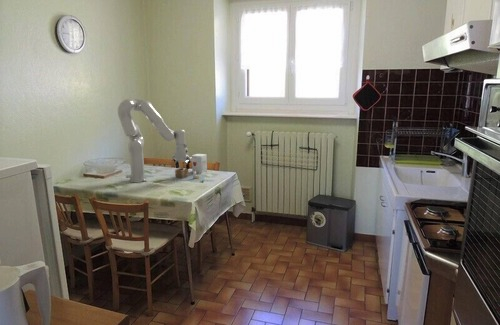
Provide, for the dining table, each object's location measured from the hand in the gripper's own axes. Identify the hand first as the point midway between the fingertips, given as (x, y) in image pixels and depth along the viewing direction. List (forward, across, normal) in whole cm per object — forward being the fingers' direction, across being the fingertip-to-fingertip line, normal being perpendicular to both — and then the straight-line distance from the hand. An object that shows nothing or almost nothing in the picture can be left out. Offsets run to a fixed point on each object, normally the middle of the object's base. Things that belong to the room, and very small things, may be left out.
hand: (182, 168), depth 265 cm
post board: (+8, -6, 0) cm, 10 cm away
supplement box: (+8, -2, -19) cm, 21 cm away
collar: (+6, +1, +1) cm, 7 cm away
